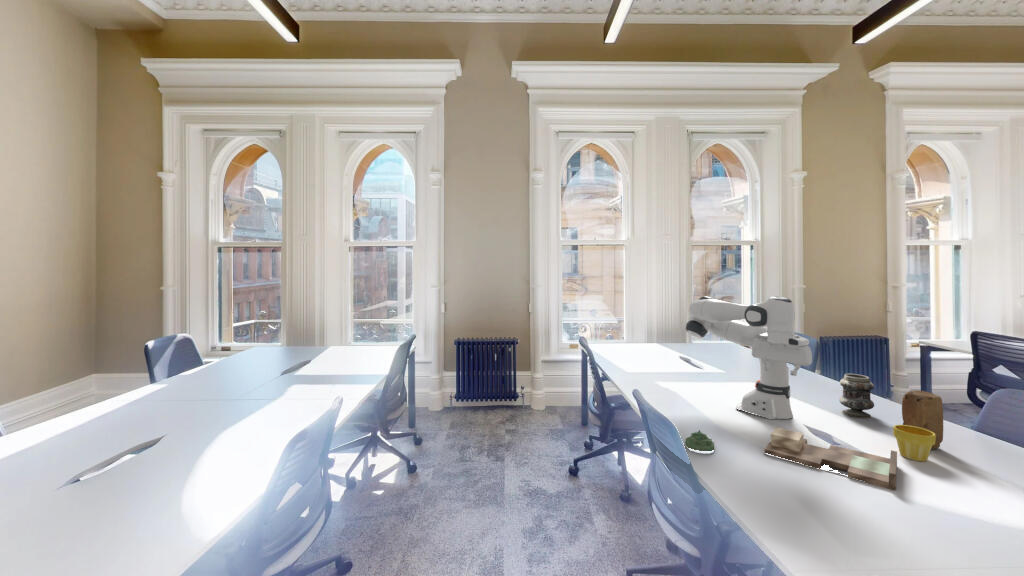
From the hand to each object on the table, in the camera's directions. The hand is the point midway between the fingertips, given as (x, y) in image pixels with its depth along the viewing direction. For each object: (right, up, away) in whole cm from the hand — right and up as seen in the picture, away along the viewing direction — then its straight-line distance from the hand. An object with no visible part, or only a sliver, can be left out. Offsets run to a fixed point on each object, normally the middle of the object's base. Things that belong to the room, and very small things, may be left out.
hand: (780, 372), depth 151 cm
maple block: (-3, -25, -8) cm, 26 cm away
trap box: (+6, -27, -16) cm, 32 cm away
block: (+50, -26, -6) cm, 57 cm away
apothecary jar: (+53, -25, +25) cm, 64 cm away
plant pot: (+37, -27, -15) cm, 48 cm away
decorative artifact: (-34, -28, -5) cm, 45 cm away
